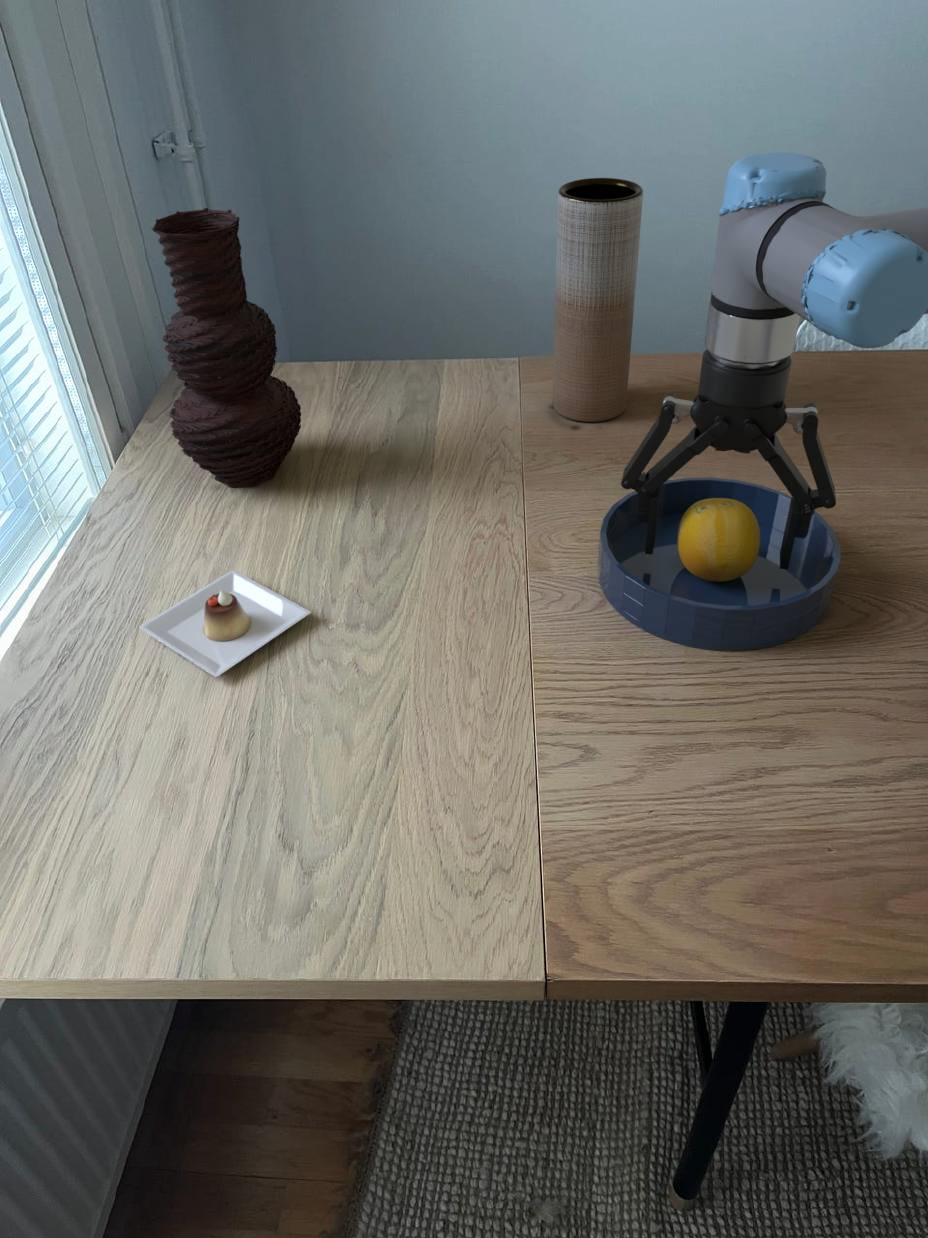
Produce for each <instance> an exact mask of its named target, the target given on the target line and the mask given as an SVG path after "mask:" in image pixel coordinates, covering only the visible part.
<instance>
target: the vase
mask: <svg viewBox="0 0 928 1238" xmlns="http://www.w3.org/2000/svg"><path fill="white" fill-rule="evenodd" d="M239 228H240V217H239V216H237V215H236V214H235V213H233V212H232V210H231V209H228V210H227V209H226V210H217V209H209V208H208V207H205V208H204V207H203V209H198V210H197V209H196V210H187V211H179V210H178V211H176V212H175V213H173V214H170V215H167V216H163V217H162V218H159V219H158V218H155V223H154V225H153V227H151V230H152V231H153V232H154V233H156V234H158V235H159V239H157V240H158V243H159V244H160V245H161V246H162V247H163V248H162V251H161V252H162V255H163V256H164V257H165V260H164V261H163V263H164V264H165V265H166V266H167V268H169V269H170V271H169V276H170V278H172V281H171V282H170V284H171V286H172V287H173V289H175V292H174V293H173V298H175V299H176V301H177V302H176V306H177V307H179V310H178V311H177V312H176V313H173V314H172V315H171V316H170V323H167V325H165V327H164V330H165V331H166V332H165V334H164V335H163V336H162V338H161V339H162V341H163V342H165V343H166V344H165V346H164V350H165V351H166V352H167V353H168V354H167V356H166V359H167V361H169V362H171V363H172V365H171V366H170V367H171V370H173V371H174V372H176V373H177V374H176V377H177V379H179V380H181V381H183V384H182V385H183V387H184V388H183V389H182V390H181V392H180V396H178V398H177V399H174V400H173V403H172V408H171V409H170V411H169V412H168V413H169V417H170V418H171V419H172V421H171V422H169V424H170V427H171V432H172V433H171V435H172V437H174V439H176V440H178V441H177V445H178V446H179V447H180V448H181V451H182V452H183V454H184V455H185V456H187V457H189V458H191V459H192V462H194V463H195V464H198V465H199V466H198V467H199V468H201V469H202V470H204V471H208V472H209V473H210V474H211V475H214V480H215V481H216V482H219V483H222V484H224V485H225V486H228V488H240V487H255V486H257V485H260V484H261V483H263V482H266V481H269V480H270V479H271V480H272V479H274V478H275V476H276V474H277V472H278V470H279V468H281V465H282V463H284V461H285V459H286V457H288V454H289V453H290V452H291V450H292V449H293V447H294V443H295V442H296V438H297V437H298V435H299V434H300V430H301V427H302V424H301V422H302V418H301V417H302V411H301V410H302V406H301V405H300V404H299V400H298V398H297V397H296V392H295V390H294V389H293V388H292V387H291V386H290V385H289V384H288V383H287V382H286V381H284V380H282V379H280V378H278V377H276V376H272V373H273V371H274V369H275V366H276V357H277V352H278V347H277V340H276V334H277V330H276V326H275V324H274V323H273V322H272V320H271V318H270V317H269V314H268V313H267V311H265V309H264V308H262V307H261V306H259V305H258V304H256V303H253V302H251V301H249V300H248V295H247V290H246V289H247V288H246V287H247V286H246V284H247V283H246V279H245V277H244V274H243V259H242V256H241V254H242V245H241V243H240V238H239V236H238V234H239Z"/></svg>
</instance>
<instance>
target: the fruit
mask: <svg viewBox="0 0 928 1238" xmlns="http://www.w3.org/2000/svg"><path fill="white" fill-rule="evenodd" d="M677 544H678V551H679V555H680V558H681V560H682V562H683V564H684V566H685V567H686V568H687V570H688V571H689V572H690V573H692V574H693V575H695V576H697V577H699V578H701V579H704V580H707V581H715V582H723V581H730V580H734V579H736V578H739V577H741V576H742V575H744V574H745V573H746V572H748V571H749V570H750V569H751V567H752V566H753V564H754V563H755V561H756V559H757V556H758V553H759V548H760V529H759V525H758V522H757V519H756V517H755V515H754V514H753V512H752V511H751V510H750V508H749V507H747V506H746V505H745V504H743V503H741V502H739V501H737V500H733V499H726V498H711V499H704V500H701V501H698V502H696V503H695V504H693V505H692V506H691V507H690V508H688V510H687V511H686V512H685V513H684V515H683V517H682V519H681V521H680V524H679V528H678V534H677Z"/></svg>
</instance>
